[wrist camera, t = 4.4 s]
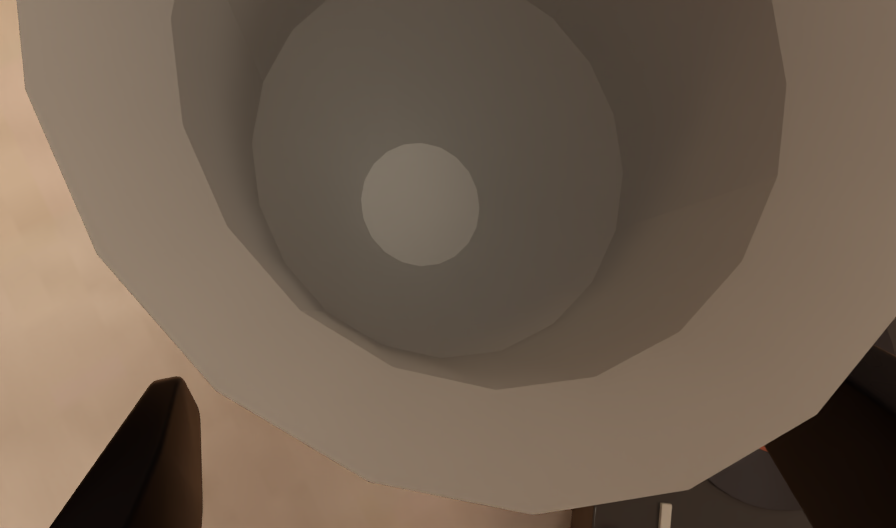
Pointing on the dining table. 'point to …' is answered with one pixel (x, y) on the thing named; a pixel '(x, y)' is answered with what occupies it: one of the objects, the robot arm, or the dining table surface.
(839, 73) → the chalice
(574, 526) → the hob
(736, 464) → the burner
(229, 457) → the dining table surface
